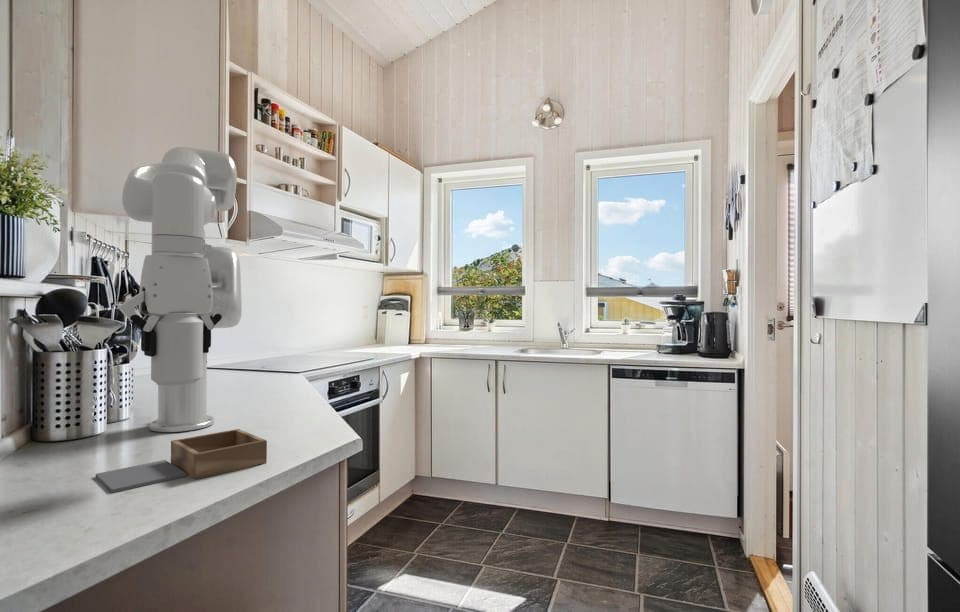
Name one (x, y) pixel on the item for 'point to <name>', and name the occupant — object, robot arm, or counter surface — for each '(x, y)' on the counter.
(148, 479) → the rubber mat
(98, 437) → the counter surface
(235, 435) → the walnut box
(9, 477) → the counter surface
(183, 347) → the can
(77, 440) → the counter surface
